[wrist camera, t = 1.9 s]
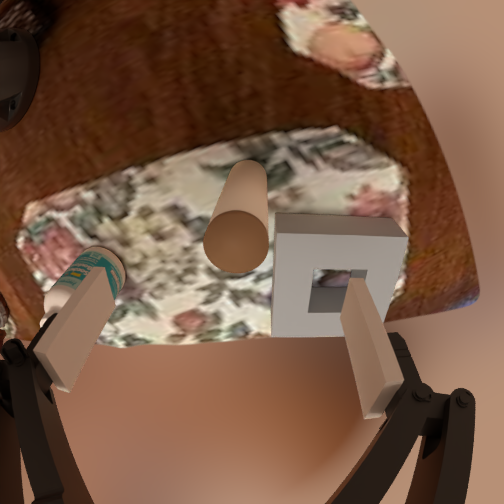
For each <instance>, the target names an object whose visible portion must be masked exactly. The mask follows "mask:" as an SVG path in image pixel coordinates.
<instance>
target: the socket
mask: <svg viewBox="0 0 504 504" xmlns="http://www.w3.org/2000/svg"><path fill="white" fill-rule="evenodd" d="M408 238H409V237H408V236H407V235H406V234H405V233H404V231H403V230H402V229H401V228H400V227H399V226H398V224H397V223H396V222H395V221H394V220H393V219H392V218H381V217H363V216H342V215H318V214H286V213H275V232H274V256H273V279H272V299H271V337H337V336H344V332H343V328H342V324H341V320H340V315H341V311H342V307H343V303H344V299H345V295H346V291H347V287H311V286H312V279H313V271H314V269H352V272H351V277H350V278H364V281H365V283H366V285H367V287H368V290H369V292H370V294H371V296H372V299H373V301H374V303H375V306H376V308H377V311H378V313H379V315H380V318H381V320H382V323H383V322H384V319H385V316H386V313H387V310H388V307H389V304H390V301H391V298H392V295H393V292H394V289H395V285H396V282H397V279H398V275H399V272H400V268H401V265H402V261H403V257H404V254H405V250H406V246H407V242H408Z"/></svg>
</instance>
